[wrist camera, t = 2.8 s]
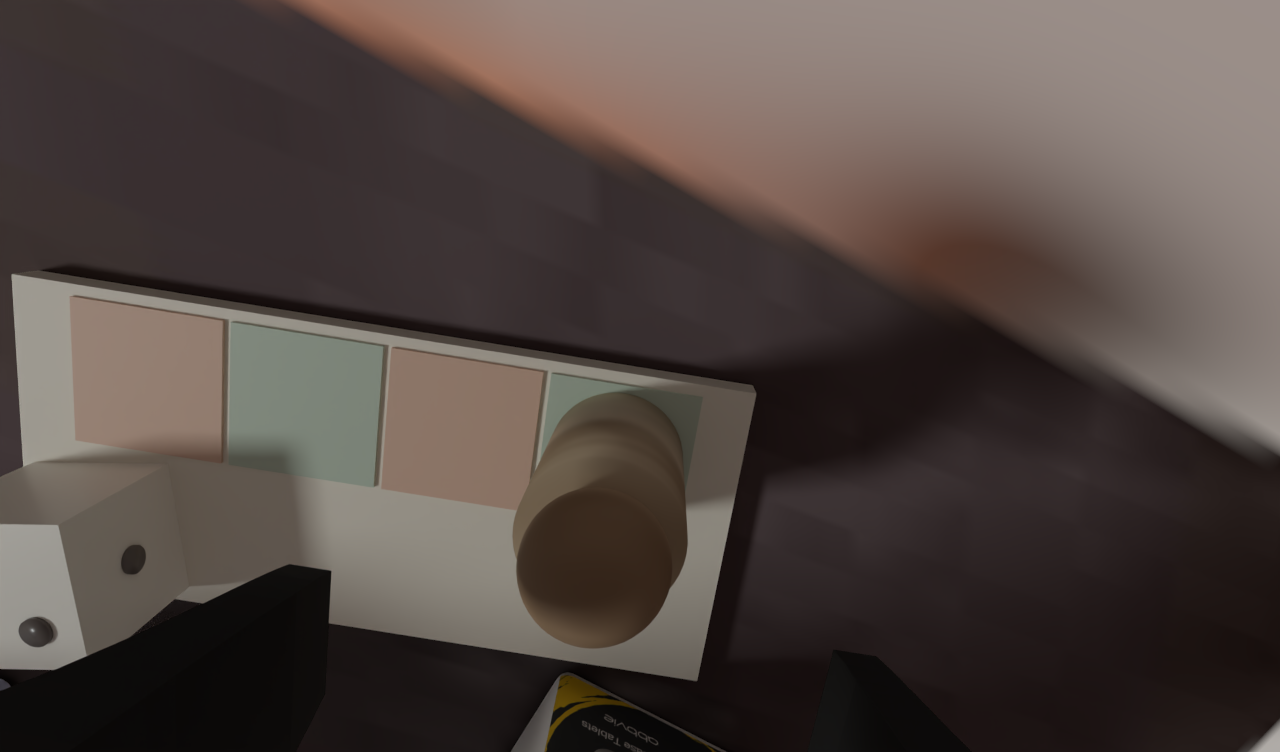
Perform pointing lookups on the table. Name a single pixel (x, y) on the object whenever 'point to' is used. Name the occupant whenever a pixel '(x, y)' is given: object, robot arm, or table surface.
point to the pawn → (603, 522)
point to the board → (357, 454)
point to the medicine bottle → (600, 724)
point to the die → (84, 558)
